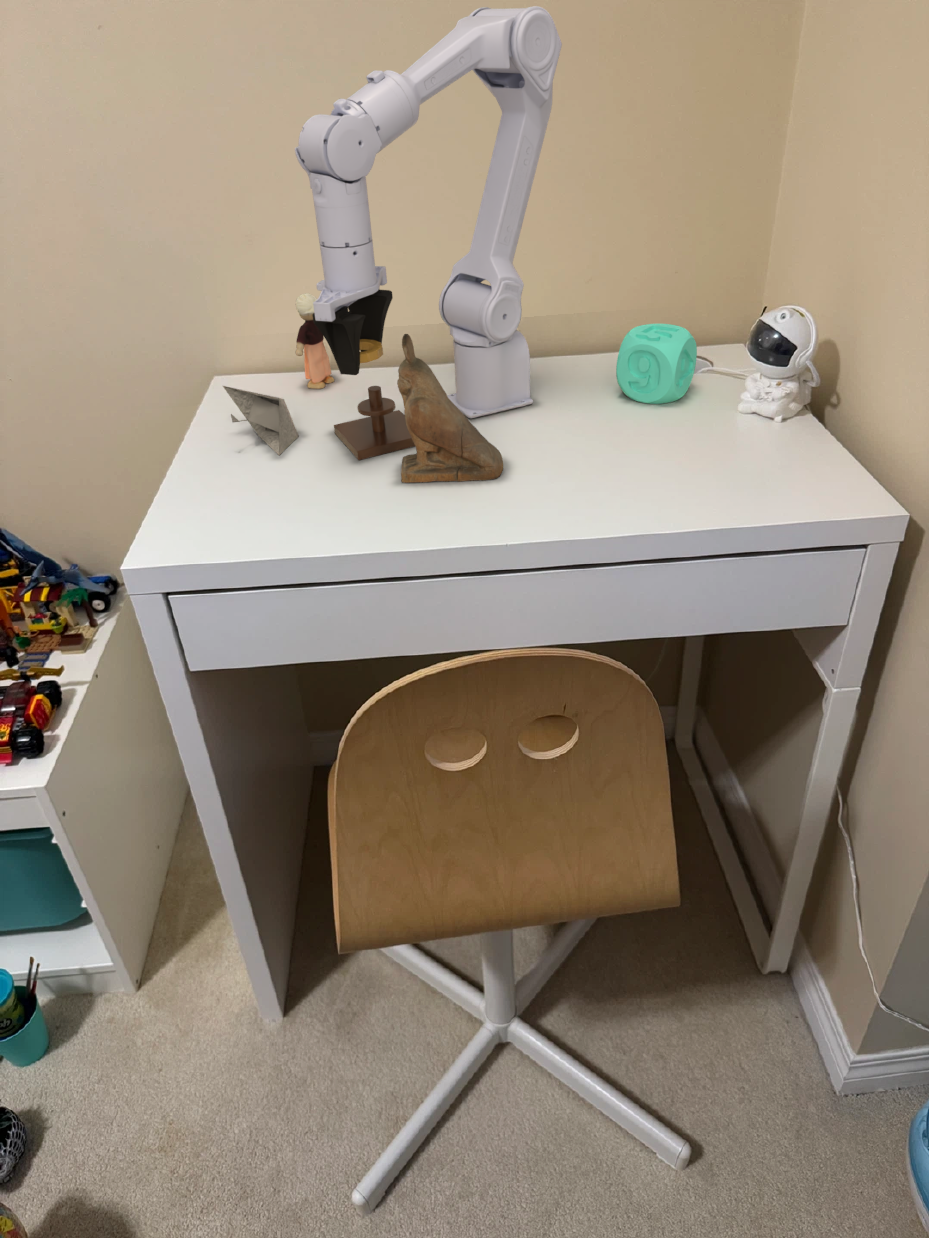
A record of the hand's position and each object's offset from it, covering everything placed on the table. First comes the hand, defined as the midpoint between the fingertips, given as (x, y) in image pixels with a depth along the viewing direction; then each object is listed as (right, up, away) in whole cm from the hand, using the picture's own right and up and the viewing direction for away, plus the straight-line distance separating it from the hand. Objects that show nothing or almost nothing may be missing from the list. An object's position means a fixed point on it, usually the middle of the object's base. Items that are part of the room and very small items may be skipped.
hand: (360, 364), depth 105 cm
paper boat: (-14, -7, +10) cm, 18 cm away
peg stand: (+2, -7, +8) cm, 11 cm away
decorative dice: (+38, 0, +15) cm, 41 cm away
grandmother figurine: (-9, +4, +24) cm, 26 cm away
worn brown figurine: (+11, -13, -1) cm, 17 cm away
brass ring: (0, +1, -1) cm, 1 cm away
